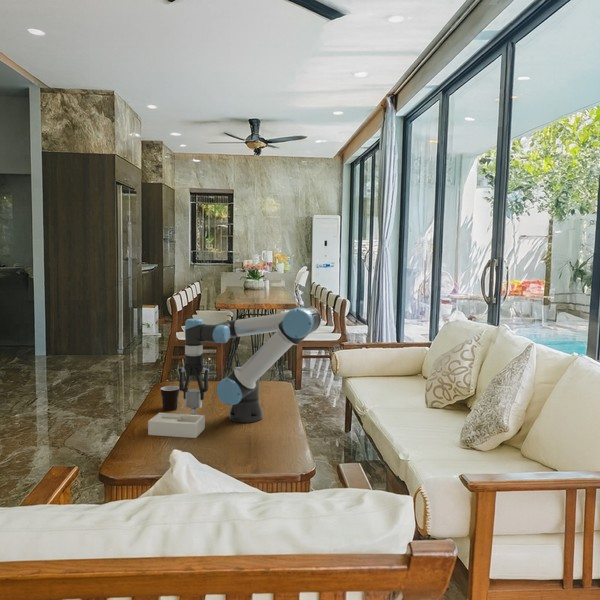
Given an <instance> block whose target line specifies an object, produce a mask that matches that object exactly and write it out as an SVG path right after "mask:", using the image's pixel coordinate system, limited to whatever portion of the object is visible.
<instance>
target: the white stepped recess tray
mask: <svg viewBox="0 0 600 600" xmlns="http://www.w3.org/2000/svg"><path fill="white" fill-rule="evenodd" d="M205 426H206V415H204V414H203V415H202V414H196V415H191V414H188V413H187V414H186V413H171V412H158V413H157V414H156V415H154V416H153V417H151V418H150V419H149V420H148V421H147V430H148V431H147V435H148V436H161V437H175V438H190V439H197V437H198V436H199V435H201V433H202V432H203V431H204V430H205V429H206V427H205Z"/></svg>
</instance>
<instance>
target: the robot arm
mask: <svg viewBox="0 0 600 600" xmlns="http://www.w3.org/2000/svg"><path fill="white" fill-rule="evenodd" d="M321 321H322V316H321V313H320V311H319V310H318V309H317V308H316V307H314V306H312V305H307V304H306V305H302V306H299V307H294V308H291V309H290V310H288V311H287V312H281V313H273V314H268V315H263V316H262V315H261V316H254V317H246V318H241V319H235V320H232V319H231V320H226V321H223V322H220V323H217V324H207V323H204V321H203V319H202V318H187V319H186V320H185V325H184V333H185V336H184V337H185V339H184V340H185V342H184V343H185V344H184V354H185V355H184V366H180V367H179V368H178V369H177V371H178V373H179V377H178V378H179V379H178V380H179V382H178V383H179V385H178V387H179V392H180V391H182V392H183V400H186V392H187V391H188V390H189V387H190V383H191V379H192V376H193V377H195V378H196V381H197V385H198V389H199V390H200V392H199V393H198V408H197V409H201V408H202V407H203V401H204V399H205V393H206V392H208V391H209V373H210V368H205V367H204V363H203V362H204V361H203V360H204V359H203V357H204V355H203V352H204V349H203V348H204V346H203V345H204V343H206V342H207V343H216V344H226V343H228V341H229V340H230V339H232V338H239V337H245V336H252V335H253V336H254V335H262V334H268V333H274V334H272V336H271V337H269V339H268V340H267V341H265V343H264V344H263V345H261V347H260V348H259V349H257V351H255V353H254V354H253V355H252V356H251V357H249V359H248V360H247V361H246V362H244V363H243V364H242V366H236V367H233V369H232V371H231V372H230V373H229V374H228V375H227V376H226V377H225V378H222V379H220V381H219V382H218V383H217V386H216V395H217V398H218V399H219V401H220V402H221V403H222V404H224V405H227V406H231V407H230V409H229V412H228V419H229V420H230V421H232V422H235V423H243V424H244V423H245V424H246V423H254V422H259V421H261V420H263V417H264V416H263V409H262V407H261V404H260V378H261V377H262V376H263V375H264V374H265V373H266V372H267V371H269V369H270V368H271V367H272V366H273V365H274V364H275V363H276V362H277V361H278V360H279V359H280V358H281V357H282V356H283V355H285V353H287V351H288V350H289V349H290V348H291V347H292V346H298V345H299V344H301V342H303V341H304V339H306V338H307V336H308V335H310V334H313V332H316V330H317V329H319V327H320V326H321ZM202 371H203V374H204V375H203V380H202V374H201V373H202ZM185 372H186V378H185Z"/></svg>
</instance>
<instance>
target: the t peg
mask: <svg viewBox="0 0 600 600" xmlns="http://www.w3.org/2000/svg"><path fill="white" fill-rule="evenodd" d="M199 392H200V390H199V388H198V389H197V388H188V390H187V392H186V399H185V408H187V409H189V408H191V414H190V415H197V409H199V408H198V393H199Z"/></svg>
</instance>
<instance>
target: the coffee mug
mask: <svg viewBox="0 0 600 600" xmlns="http://www.w3.org/2000/svg"><path fill="white" fill-rule="evenodd" d="M160 394H161V403H162V410H163V411H166V412H172V411H173V412H174V411H177V409H178V403H179V395H180V390H179V386H178V385H177V386H176V385H166V386H162V387H160Z"/></svg>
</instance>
